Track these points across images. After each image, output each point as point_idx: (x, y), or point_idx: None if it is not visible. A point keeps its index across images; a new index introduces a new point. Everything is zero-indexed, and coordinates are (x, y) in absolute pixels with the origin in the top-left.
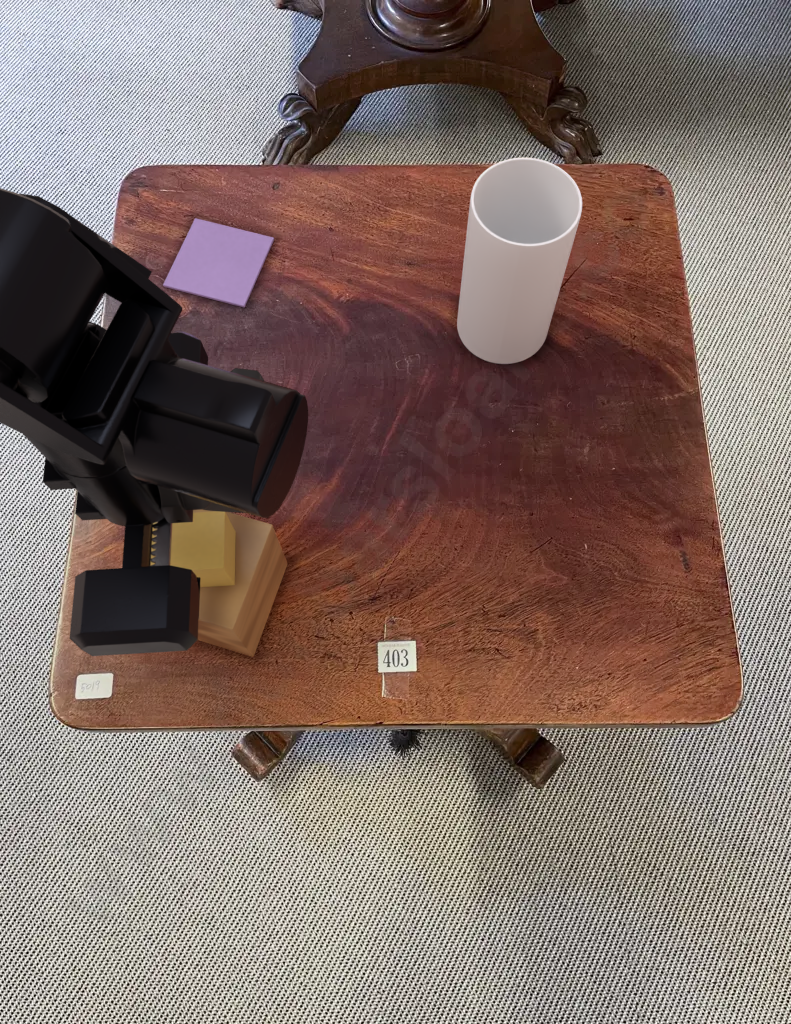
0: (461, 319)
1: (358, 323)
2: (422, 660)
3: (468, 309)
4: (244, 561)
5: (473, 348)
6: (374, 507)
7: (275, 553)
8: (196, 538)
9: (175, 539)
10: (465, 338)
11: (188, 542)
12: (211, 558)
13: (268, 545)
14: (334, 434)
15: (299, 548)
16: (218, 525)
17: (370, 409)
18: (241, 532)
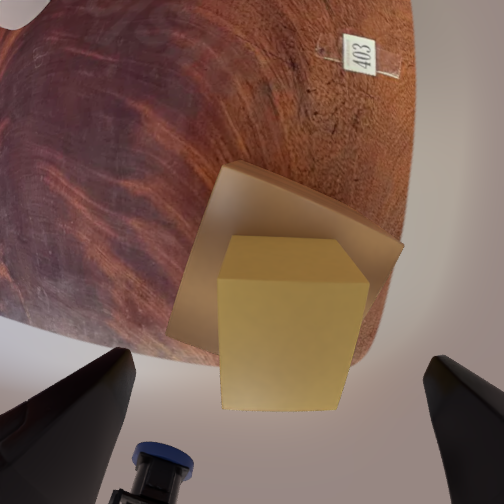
0: (12, 16)
1: (4, 111)
2: (364, 32)
3: (1, 2)
4: (293, 220)
5: (40, 5)
6: (177, 61)
7: (250, 168)
8: (285, 341)
9: (280, 376)
10: (30, 13)
11: (292, 355)
12: (341, 310)
13: (256, 175)
14: (90, 113)
15: (221, 145)
16: (257, 295)
17: (70, 80)
18: (234, 224)
